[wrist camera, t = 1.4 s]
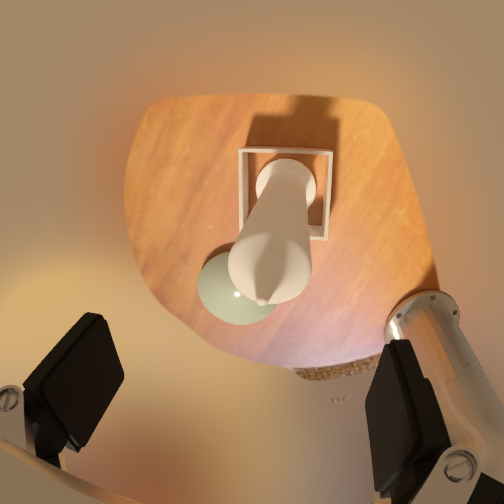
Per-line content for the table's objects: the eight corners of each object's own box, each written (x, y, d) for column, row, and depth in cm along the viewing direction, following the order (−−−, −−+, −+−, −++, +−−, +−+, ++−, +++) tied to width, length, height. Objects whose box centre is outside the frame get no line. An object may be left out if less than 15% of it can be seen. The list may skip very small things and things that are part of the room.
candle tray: (329, 148, 34) (332, 151, 30) (324, 228, 37) (327, 240, 34) (244, 146, 35) (238, 148, 31) (245, 225, 39) (239, 236, 35)
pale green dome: (294, 274, 40) (293, 279, 39) (256, 331, 45) (254, 336, 44) (219, 235, 40) (216, 238, 39) (189, 297, 44) (186, 301, 43)
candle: (265, 151, 35) (199, 203, 12) (323, 168, 35) (369, 255, 12) (249, 206, 38) (175, 336, 15) (305, 223, 37) (308, 375, 15)
